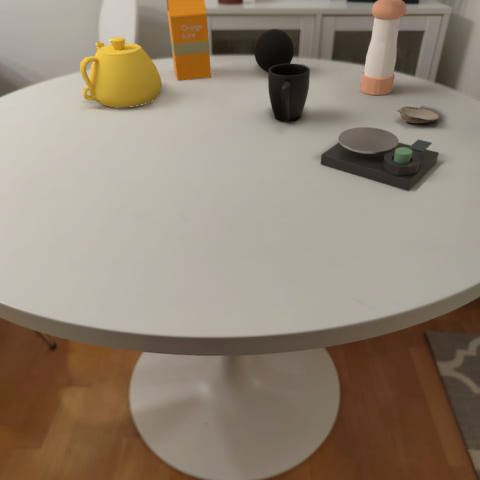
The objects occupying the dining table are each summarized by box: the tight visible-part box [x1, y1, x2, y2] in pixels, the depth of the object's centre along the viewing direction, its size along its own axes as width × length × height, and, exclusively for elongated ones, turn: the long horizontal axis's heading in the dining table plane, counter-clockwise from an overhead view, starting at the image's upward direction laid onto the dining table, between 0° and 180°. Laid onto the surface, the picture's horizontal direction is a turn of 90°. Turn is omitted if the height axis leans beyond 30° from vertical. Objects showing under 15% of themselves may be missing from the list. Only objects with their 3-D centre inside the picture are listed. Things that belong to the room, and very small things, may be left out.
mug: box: [267, 63, 311, 123], centre depth 92 cm, size 8×12×10 cm
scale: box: [320, 142, 440, 192], centre depth 78 cm, size 16×12×4 cm
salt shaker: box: [359, 0, 407, 96], centre depth 101 cm, size 7×7×19 cm
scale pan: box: [337, 126, 433, 154], centre depth 77 cm, size 14×10×1 cm
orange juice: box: [166, 0, 212, 81], centre depth 114 cm, size 8×9×20 cm
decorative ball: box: [253, 28, 295, 73], centre depth 116 cm, size 10×10×10 cm
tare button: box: [394, 147, 412, 164], centre depth 73 cm, size 3×3×2 cm
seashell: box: [396, 106, 440, 124], centre depth 92 cm, size 8×3×8 cm
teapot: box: [79, 36, 163, 108], centre depth 105 cm, size 20×19×13 cm
